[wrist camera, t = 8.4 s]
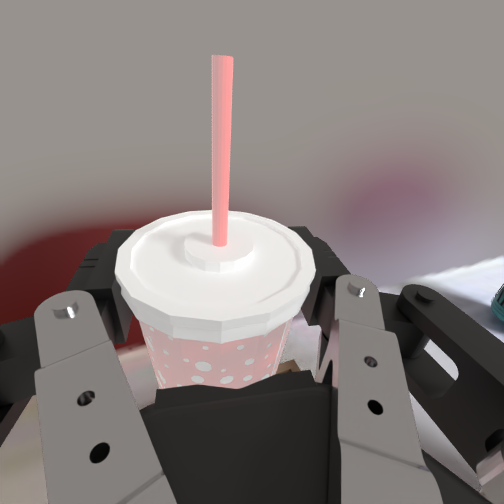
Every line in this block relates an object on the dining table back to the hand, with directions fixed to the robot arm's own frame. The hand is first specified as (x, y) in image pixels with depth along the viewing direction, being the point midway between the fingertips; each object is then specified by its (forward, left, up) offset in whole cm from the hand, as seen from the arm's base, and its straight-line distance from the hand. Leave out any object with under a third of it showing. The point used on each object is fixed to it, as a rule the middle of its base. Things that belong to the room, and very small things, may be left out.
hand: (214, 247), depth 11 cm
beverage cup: (+2, +2, -8) cm, 8 cm away
